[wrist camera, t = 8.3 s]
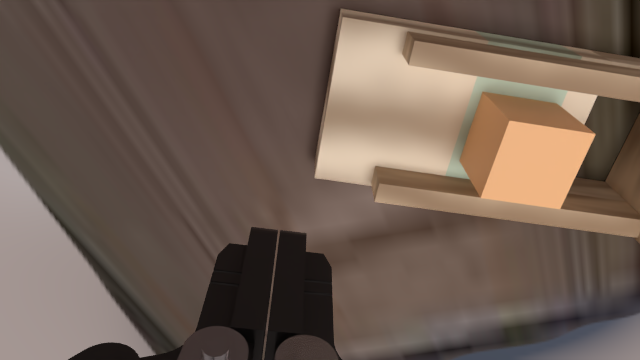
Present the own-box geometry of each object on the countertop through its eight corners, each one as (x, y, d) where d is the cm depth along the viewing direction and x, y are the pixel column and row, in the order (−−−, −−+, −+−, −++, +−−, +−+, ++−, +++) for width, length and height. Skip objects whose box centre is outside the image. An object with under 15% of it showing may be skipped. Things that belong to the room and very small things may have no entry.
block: (482, 91, 31) (509, 120, 26) (556, 103, 31) (595, 134, 27) (459, 160, 33) (480, 198, 29) (528, 170, 33) (560, 209, 29)
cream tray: (340, 8, 31) (345, 27, 26) (674, 64, 33) (742, 92, 28) (315, 159, 36) (314, 200, 31) (604, 200, 38) (649, 245, 33)
